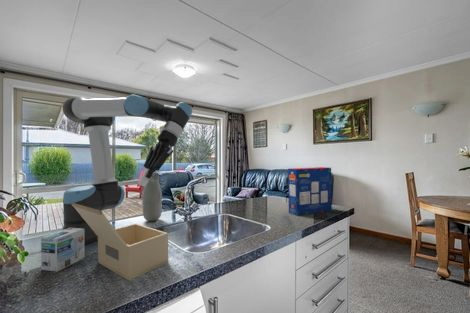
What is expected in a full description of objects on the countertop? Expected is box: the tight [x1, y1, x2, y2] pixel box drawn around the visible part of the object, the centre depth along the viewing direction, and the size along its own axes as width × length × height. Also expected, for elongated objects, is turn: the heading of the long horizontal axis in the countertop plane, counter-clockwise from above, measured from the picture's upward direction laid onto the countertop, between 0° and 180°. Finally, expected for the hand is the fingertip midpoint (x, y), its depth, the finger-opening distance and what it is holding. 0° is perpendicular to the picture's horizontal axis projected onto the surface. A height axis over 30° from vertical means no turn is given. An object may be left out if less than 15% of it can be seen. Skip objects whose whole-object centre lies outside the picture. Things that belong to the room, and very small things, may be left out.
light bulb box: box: [40, 228, 86, 273], centre depth 77 cm, size 11×7×11 cm, turn 168°
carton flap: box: [71, 203, 128, 248], centre depth 69 cm, size 19×14×1 cm
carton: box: [97, 223, 169, 281], centre depth 78 cm, size 20×14×10 cm
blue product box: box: [287, 166, 333, 217], centre depth 144 cm, size 28×8×28 cm, turn 114°
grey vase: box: [141, 171, 163, 222], centre depth 128 cm, size 10×10×28 cm
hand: (141, 185), depth 85 cm, fingers closed
